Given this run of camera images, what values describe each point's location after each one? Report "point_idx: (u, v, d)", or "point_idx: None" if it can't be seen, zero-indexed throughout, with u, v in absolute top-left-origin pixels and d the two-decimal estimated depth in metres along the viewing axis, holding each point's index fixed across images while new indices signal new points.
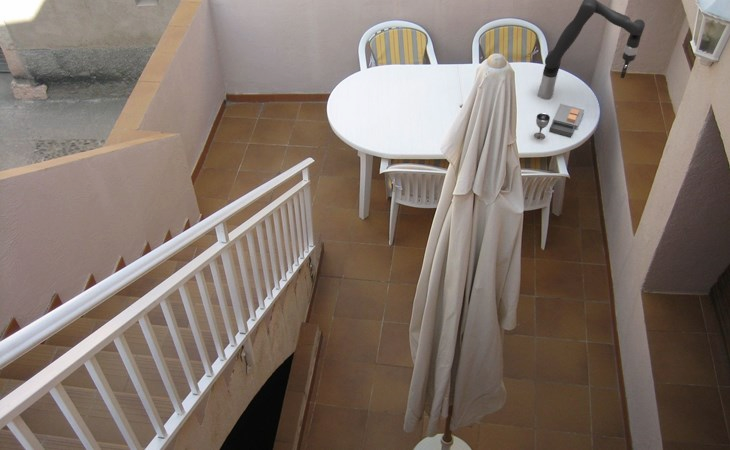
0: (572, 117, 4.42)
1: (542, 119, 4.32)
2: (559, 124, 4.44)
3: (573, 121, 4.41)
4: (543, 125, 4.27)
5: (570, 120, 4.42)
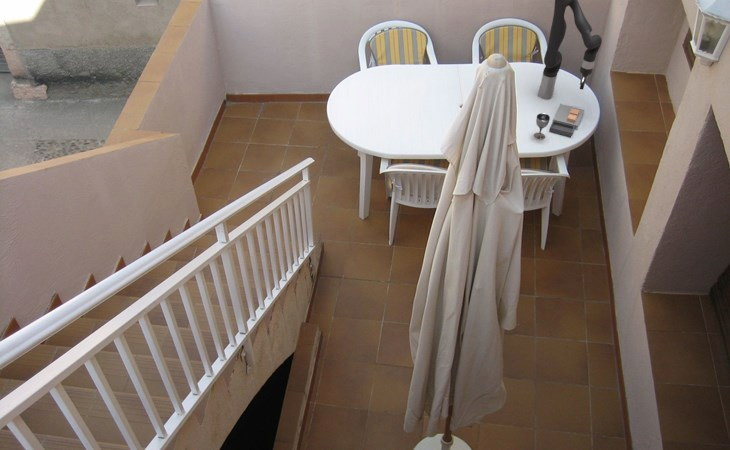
0: (572, 117, 4.42)
1: (542, 119, 4.32)
2: (559, 124, 4.44)
3: (573, 121, 4.41)
4: (543, 125, 4.27)
5: (570, 120, 4.42)
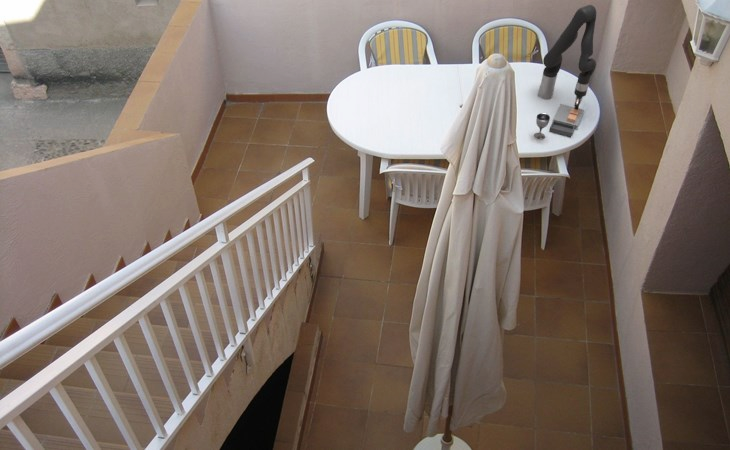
0: (572, 117, 4.42)
1: (542, 119, 4.32)
2: (559, 124, 4.44)
3: (573, 121, 4.41)
4: (543, 125, 4.27)
5: (570, 120, 4.42)
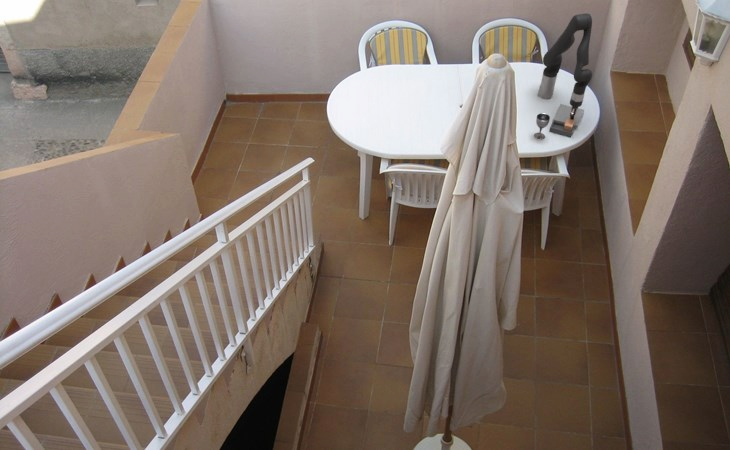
0: (568, 129, 4.38)
1: (542, 119, 4.32)
2: (559, 124, 4.44)
3: None
4: (543, 125, 4.27)
5: None
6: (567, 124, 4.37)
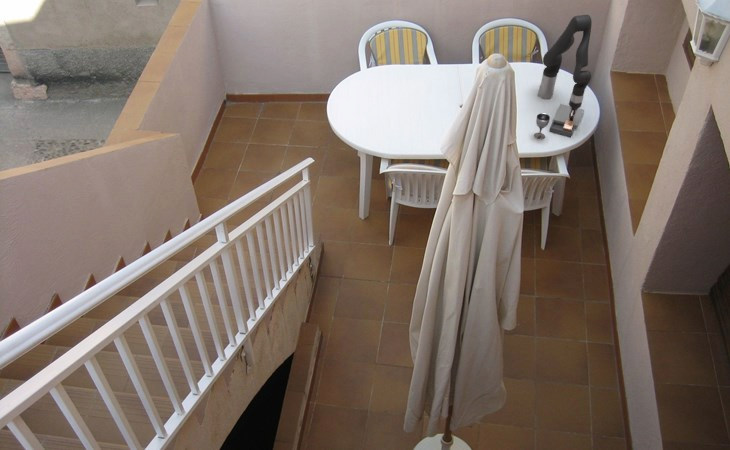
0: None
1: (542, 119, 4.32)
2: (559, 124, 4.44)
3: None
4: (543, 125, 4.27)
5: None
6: (566, 126, 4.35)
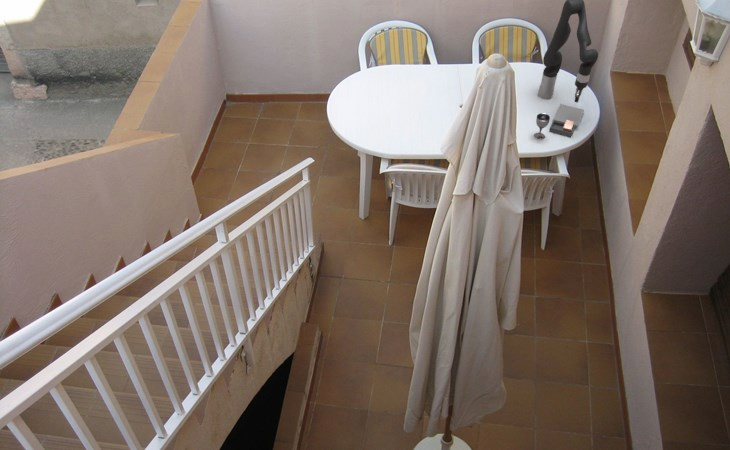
0: None
1: (542, 119, 4.32)
2: (559, 124, 4.44)
3: None
4: (543, 125, 4.27)
5: None
6: (566, 126, 4.35)
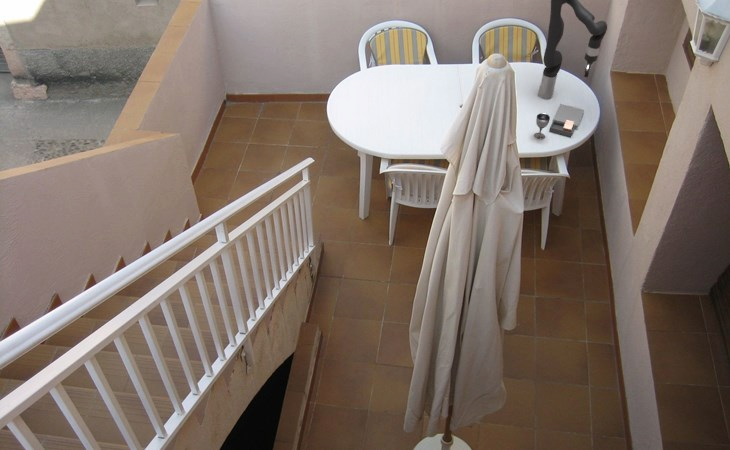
0: None
1: (542, 119, 4.32)
2: (559, 124, 4.44)
3: None
4: (543, 125, 4.27)
5: None
6: (566, 126, 4.35)
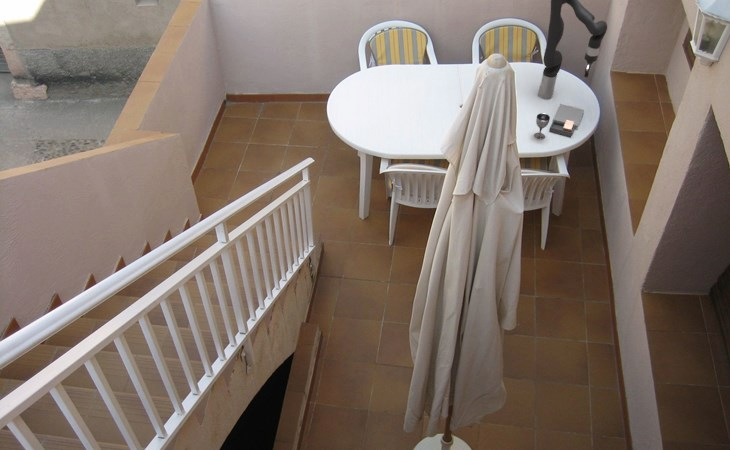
0: None
1: (542, 119, 4.32)
2: (559, 124, 4.44)
3: None
4: (543, 125, 4.27)
5: None
6: (566, 126, 4.35)
